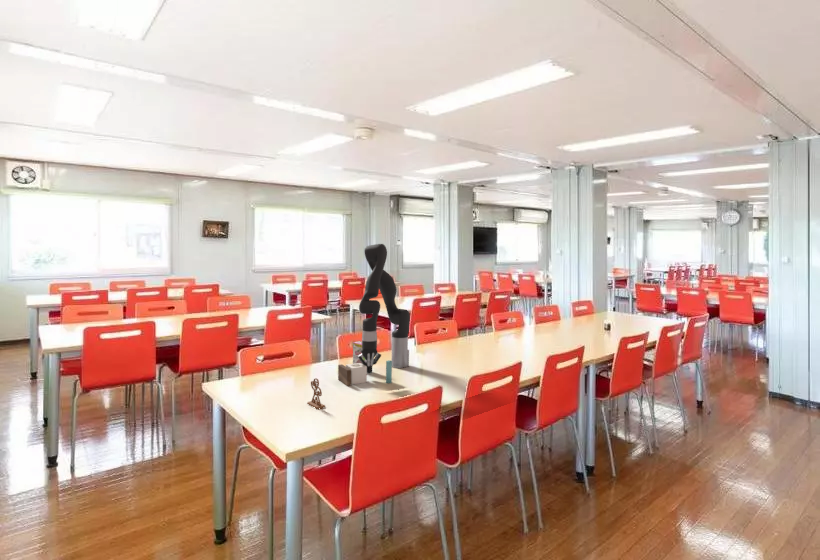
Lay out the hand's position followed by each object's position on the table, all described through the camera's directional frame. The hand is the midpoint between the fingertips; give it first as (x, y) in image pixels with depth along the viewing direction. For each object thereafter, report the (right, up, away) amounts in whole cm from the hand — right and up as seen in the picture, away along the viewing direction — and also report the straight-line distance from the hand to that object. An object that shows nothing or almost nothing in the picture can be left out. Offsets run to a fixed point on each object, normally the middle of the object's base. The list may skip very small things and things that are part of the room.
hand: (369, 373), depth 241 cm
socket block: (-6, -4, -3) cm, 8 cm away
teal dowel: (+10, -5, -4) cm, 12 cm away
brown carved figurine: (-20, -7, -37) cm, 42 cm away
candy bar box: (-5, -4, +17) cm, 18 cm away
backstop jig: (-1, -5, 0) cm, 5 cm away
